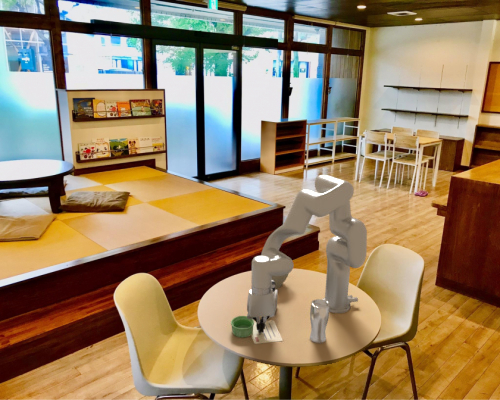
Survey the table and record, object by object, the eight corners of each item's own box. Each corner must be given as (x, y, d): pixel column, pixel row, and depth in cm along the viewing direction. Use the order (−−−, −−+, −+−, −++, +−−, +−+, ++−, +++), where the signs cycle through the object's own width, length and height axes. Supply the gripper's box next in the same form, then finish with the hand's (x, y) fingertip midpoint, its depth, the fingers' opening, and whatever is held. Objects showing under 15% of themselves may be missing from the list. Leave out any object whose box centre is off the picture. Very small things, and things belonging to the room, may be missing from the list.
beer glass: (314, 330, 165) (316, 296, 161) (330, 337, 161) (333, 303, 156) (305, 339, 160) (307, 304, 155) (321, 346, 155) (323, 310, 151)
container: (274, 314, 176) (275, 286, 172) (256, 312, 177) (256, 284, 173) (277, 305, 183) (278, 278, 179) (259, 303, 184) (260, 276, 181)
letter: (273, 320, 172) (273, 320, 171) (283, 340, 158) (283, 340, 158) (247, 323, 169) (247, 322, 169) (254, 344, 156) (254, 343, 156)
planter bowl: (272, 296, 190) (273, 274, 187) (248, 283, 202) (249, 262, 198) (296, 285, 201) (297, 264, 198) (272, 273, 212) (273, 253, 209)
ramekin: (247, 322, 169) (247, 313, 168) (258, 334, 162) (258, 324, 160) (227, 329, 165) (226, 319, 164) (237, 341, 158) (237, 331, 156)
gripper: (277, 281, 163) (276, 323, 168) (240, 285, 160) (239, 327, 165) (283, 291, 156) (281, 333, 161) (243, 295, 153) (243, 338, 158)
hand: (260, 330), depth 163 cm, fingers closed
